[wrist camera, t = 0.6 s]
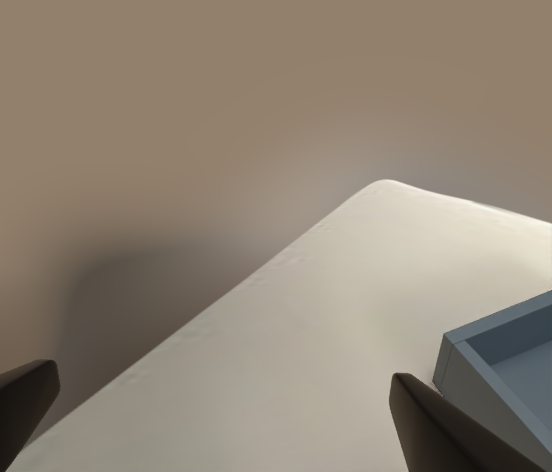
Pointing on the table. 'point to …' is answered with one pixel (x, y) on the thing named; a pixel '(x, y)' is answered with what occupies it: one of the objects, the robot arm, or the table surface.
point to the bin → (504, 375)
